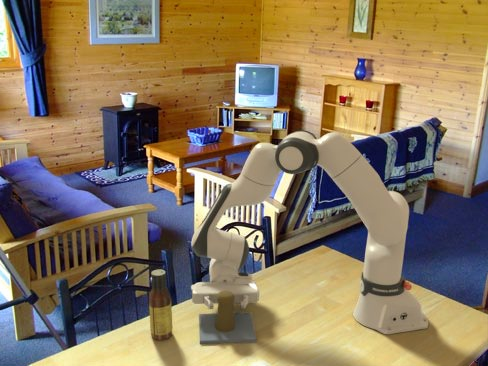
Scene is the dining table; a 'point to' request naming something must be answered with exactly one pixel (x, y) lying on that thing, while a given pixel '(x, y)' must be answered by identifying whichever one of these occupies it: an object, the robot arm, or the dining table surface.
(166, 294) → the sauce bottle
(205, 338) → the tile
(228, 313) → the cork
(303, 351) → the dining table surface
